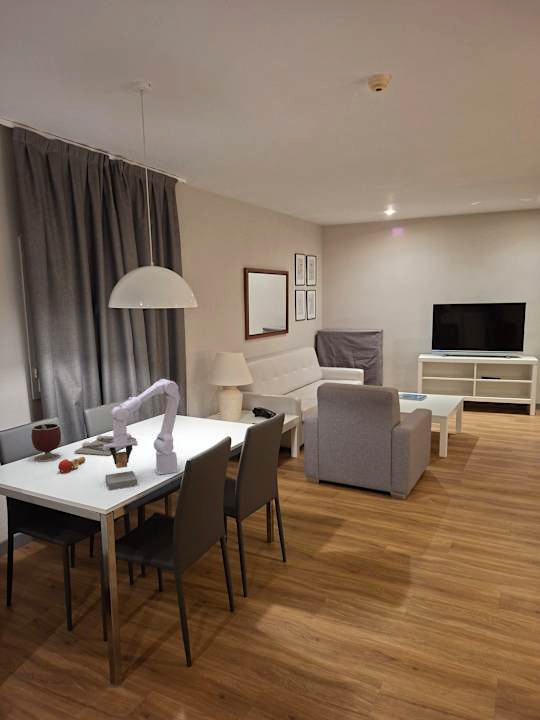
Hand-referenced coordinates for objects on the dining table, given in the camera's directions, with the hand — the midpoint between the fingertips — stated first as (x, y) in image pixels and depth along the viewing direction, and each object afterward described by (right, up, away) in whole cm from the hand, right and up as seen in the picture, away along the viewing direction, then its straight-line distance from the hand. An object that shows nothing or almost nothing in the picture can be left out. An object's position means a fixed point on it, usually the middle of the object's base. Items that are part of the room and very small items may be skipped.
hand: (121, 462), depth 226 cm
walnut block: (0, -2, +1) cm, 2 cm away
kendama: (-30, -7, +20) cm, 36 cm away
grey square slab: (+1, -9, -2) cm, 9 cm away
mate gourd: (-48, -5, +34) cm, 59 cm away
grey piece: (-24, -3, +54) cm, 60 cm away
